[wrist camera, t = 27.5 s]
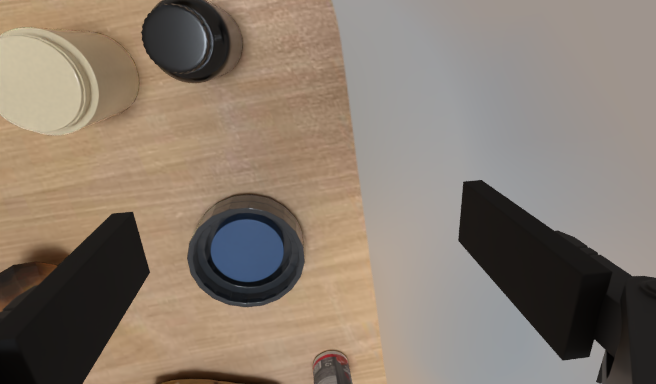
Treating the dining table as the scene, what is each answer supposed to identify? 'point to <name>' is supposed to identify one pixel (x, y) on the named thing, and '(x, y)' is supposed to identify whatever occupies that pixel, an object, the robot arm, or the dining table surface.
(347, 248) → the dining table surface
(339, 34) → the dining table surface
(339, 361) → the pill bottle
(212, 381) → the bread
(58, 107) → the jar
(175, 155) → the dining table surface
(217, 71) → the supplement bottle
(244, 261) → the jar lid
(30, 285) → the potato
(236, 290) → the bowl
